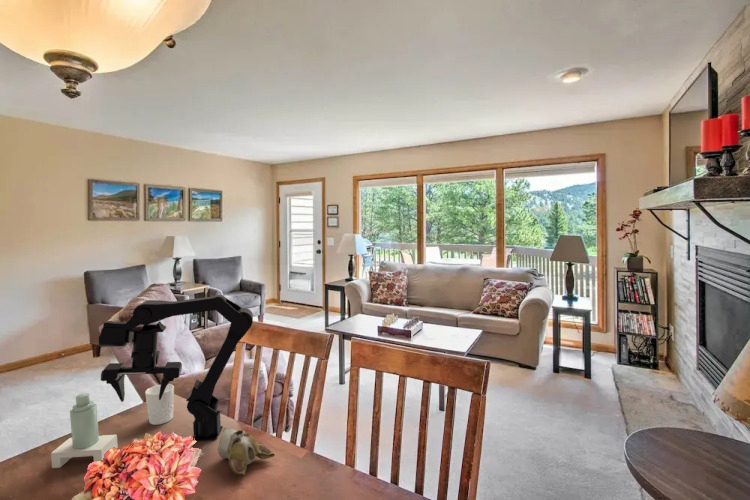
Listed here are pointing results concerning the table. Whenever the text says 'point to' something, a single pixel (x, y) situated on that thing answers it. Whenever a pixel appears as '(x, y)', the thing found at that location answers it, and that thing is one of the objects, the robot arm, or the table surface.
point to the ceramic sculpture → (241, 449)
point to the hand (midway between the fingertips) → (141, 400)
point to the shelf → (83, 450)
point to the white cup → (160, 404)
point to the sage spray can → (84, 422)
